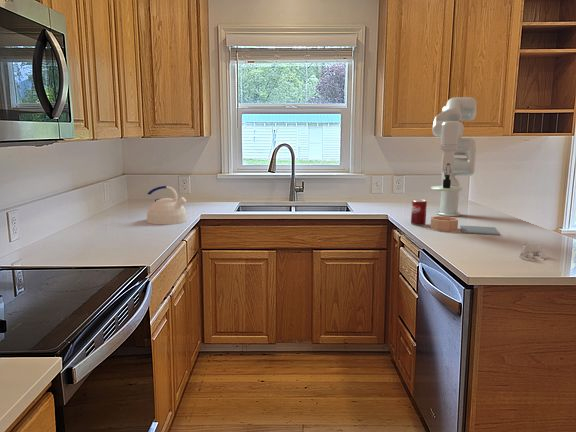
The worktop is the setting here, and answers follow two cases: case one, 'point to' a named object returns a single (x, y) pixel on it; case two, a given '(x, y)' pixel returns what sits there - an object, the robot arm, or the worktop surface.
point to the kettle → (167, 209)
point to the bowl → (444, 223)
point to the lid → (440, 188)
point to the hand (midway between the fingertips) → (446, 187)
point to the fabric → (532, 252)
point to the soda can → (418, 212)
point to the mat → (479, 230)
